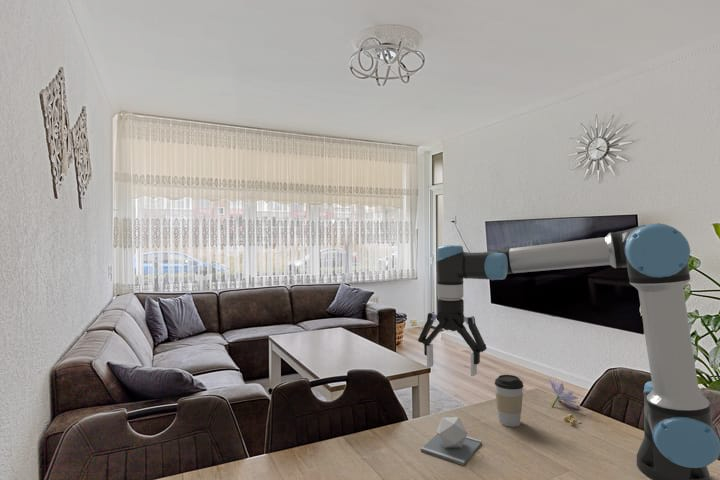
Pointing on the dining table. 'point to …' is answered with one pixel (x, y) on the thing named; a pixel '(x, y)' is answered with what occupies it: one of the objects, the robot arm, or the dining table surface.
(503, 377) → the coffee cup
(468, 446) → the coaster
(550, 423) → the dining table surface
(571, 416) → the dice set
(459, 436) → the die
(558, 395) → the water lily
